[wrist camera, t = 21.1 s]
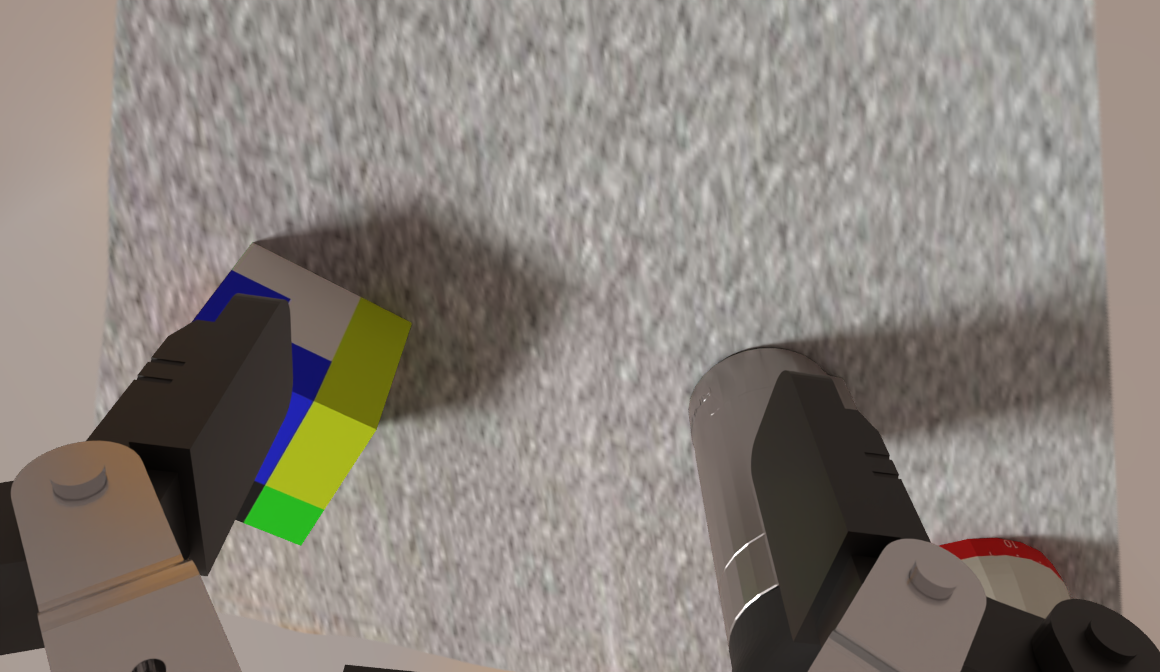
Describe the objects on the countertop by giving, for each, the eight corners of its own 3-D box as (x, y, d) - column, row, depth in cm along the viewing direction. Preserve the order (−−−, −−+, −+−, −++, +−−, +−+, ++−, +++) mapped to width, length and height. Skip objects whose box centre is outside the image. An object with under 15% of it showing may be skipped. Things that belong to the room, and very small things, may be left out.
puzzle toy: (252, 241, 45) (178, 339, 37) (412, 322, 48) (376, 429, 40) (197, 362, 50) (119, 473, 42) (345, 429, 53) (300, 545, 45)
